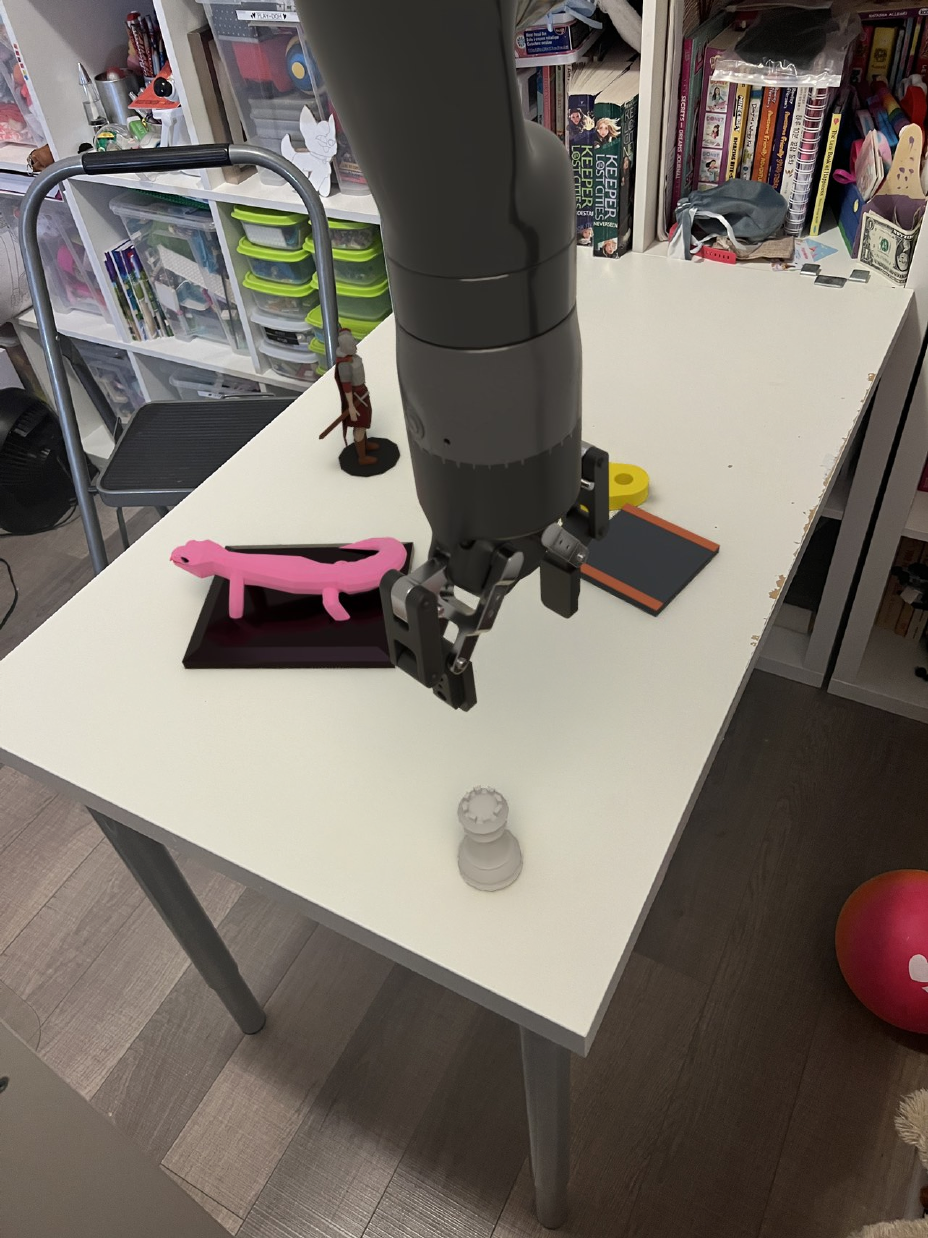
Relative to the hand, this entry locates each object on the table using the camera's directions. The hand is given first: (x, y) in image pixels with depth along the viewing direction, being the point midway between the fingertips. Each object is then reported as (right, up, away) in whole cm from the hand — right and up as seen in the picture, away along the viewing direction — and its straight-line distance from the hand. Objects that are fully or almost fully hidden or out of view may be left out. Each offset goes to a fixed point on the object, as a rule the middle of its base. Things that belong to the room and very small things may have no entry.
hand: (511, 652), depth 49 cm
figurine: (-13, +19, +45) cm, 51 cm away
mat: (+13, +7, +31) cm, 34 cm away
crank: (+6, +14, +38) cm, 41 cm away
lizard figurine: (-18, +3, +31) cm, 36 cm away
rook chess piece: (-1, -15, +12) cm, 19 cm away
